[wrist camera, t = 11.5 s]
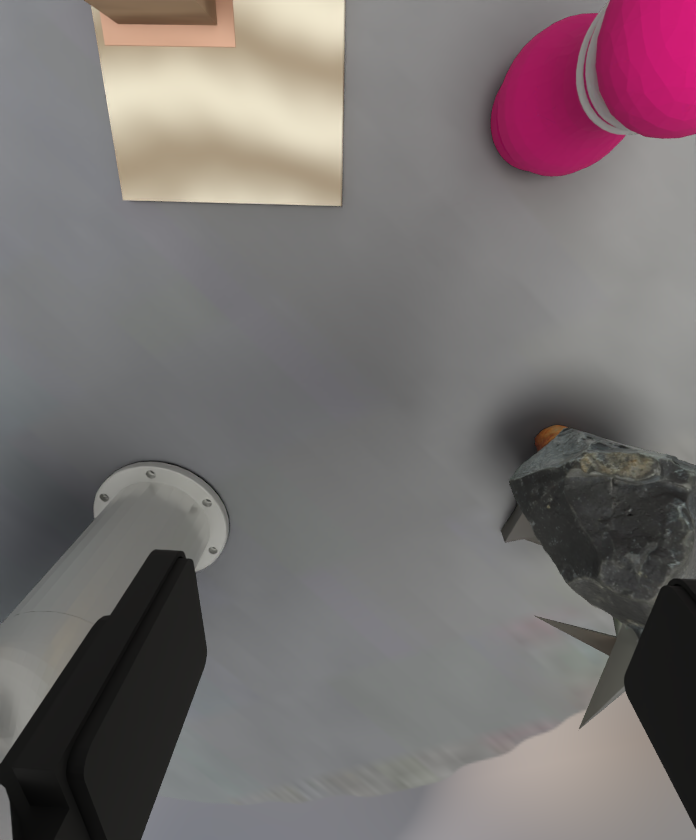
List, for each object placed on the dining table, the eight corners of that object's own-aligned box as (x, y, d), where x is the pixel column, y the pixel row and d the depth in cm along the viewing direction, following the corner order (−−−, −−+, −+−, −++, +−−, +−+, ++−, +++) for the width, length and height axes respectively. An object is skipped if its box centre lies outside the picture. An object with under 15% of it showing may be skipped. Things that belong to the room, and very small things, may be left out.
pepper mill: (474, 66, 28) (651, -178, 10) (597, 26, 27) (1039, -327, 9) (490, 193, 31) (650, 177, 13) (602, 161, 30) (946, 96, 12)
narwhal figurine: (684, 423, 38) (922, 590, 21) (578, 558, 44) (698, 767, 27) (527, 360, 36) (654, 488, 20) (441, 509, 42) (483, 700, 26)
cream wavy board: (341, 205, 32) (340, 206, 31) (130, 200, 33) (122, 200, 32) (348, -143, 25) (346, -157, 24) (75, -142, 25) (63, -156, 24)
